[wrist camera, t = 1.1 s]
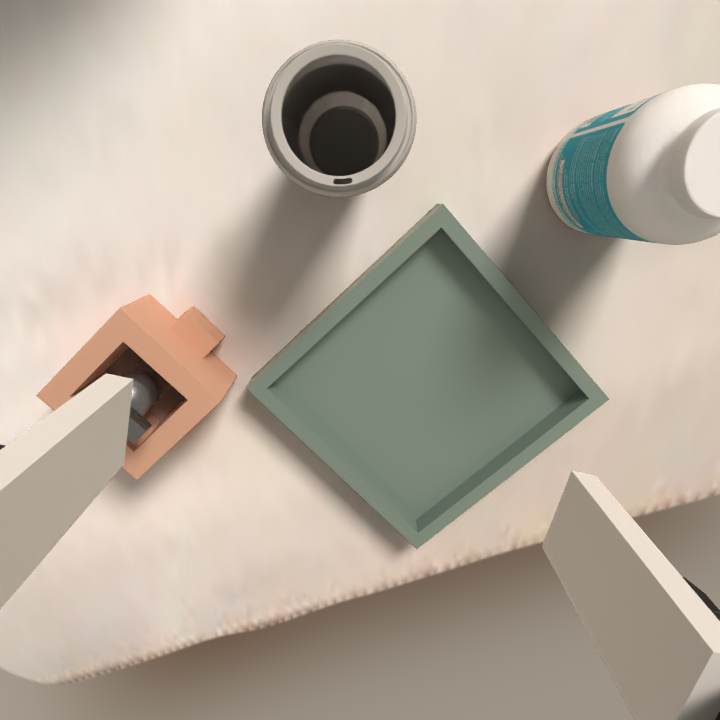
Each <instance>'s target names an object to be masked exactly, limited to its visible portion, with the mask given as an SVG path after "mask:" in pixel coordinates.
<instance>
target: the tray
mask: <svg viewBox="0 0 720 720" xmlns="http://www.w3.org/2000/svg"><path fill="white" fill-rule="evenodd" d="M246 389H247V390H248V391H249V392H250V393H251V394H252V395H253V396H254V397H256V398H257V399H258V400H259V401H260V402H261V403H262V404H263V405H264V406H265V407H266V408H267V409H268V410H269V411H270V412H272V413H273V414H274V415H275V416H276V417H277V418H278V419H279V420H280V421H281V422H282V423H283V424H284V425H285V426H286V427H287V428H289V429H290V430H291V431H292V432H293V433H294V434H295V435H296V436H297V437H298V438H299V439H300V440H301V441H302V442H303V443H304V444H306V445H307V446H308V447H309V448H310V449H311V450H312V451H313V452H314V453H315V454H316V455H317V456H318V457H319V458H320V459H321V460H323V461H324V462H325V463H326V464H327V465H328V466H329V467H330V468H331V469H332V470H333V471H334V472H335V473H336V474H337V475H338V476H340V477H341V478H342V479H343V480H344V481H345V482H346V483H347V484H348V485H349V486H350V487H351V488H352V489H353V490H354V491H356V492H357V493H358V494H359V495H360V496H361V497H362V498H363V499H364V500H365V501H366V502H367V503H368V504H369V505H370V506H371V507H373V508H374V509H375V510H376V511H377V512H378V513H379V514H380V515H381V516H382V517H383V518H384V519H385V520H386V521H387V522H388V523H390V524H391V525H392V526H393V527H394V528H395V529H396V530H397V531H398V532H399V533H400V534H401V535H402V536H403V537H404V538H405V539H407V540H408V541H409V542H410V543H411V544H412V545H413V546H414V547H415V548H416V549H418V548H419V547H420V546H421V545H423V544H424V543H425V542H427V541H428V540H429V539H430V538H432V537H433V536H434V535H435V534H437V533H438V532H439V531H441V530H442V529H443V528H444V527H446V526H447V525H448V524H450V523H451V522H452V521H453V520H455V519H456V518H457V517H459V516H460V515H461V514H462V513H464V512H465V511H466V510H468V509H469V508H470V507H471V506H473V505H474V504H475V503H477V502H478V501H479V500H480V499H482V498H483V497H484V496H486V495H487V494H488V493H489V492H491V491H492V490H493V489H495V488H496V487H497V486H498V485H500V484H501V483H502V482H504V481H505V480H506V479H507V478H509V477H510V476H511V475H513V474H514V473H515V472H516V471H518V470H519V469H520V468H522V467H523V466H524V465H525V464H527V463H528V462H529V461H531V460H532V459H533V458H534V457H536V456H537V455H538V454H540V453H541V452H542V451H543V450H545V449H546V448H547V447H549V446H550V445H551V444H552V443H554V442H555V441H556V440H558V439H559V438H560V437H561V436H563V435H564V434H565V433H567V432H568V431H569V430H570V429H572V428H573V427H574V426H576V425H577V424H578V423H579V422H581V421H582V420H583V419H585V418H586V417H587V416H588V415H590V414H591V413H592V412H594V411H595V410H596V409H597V408H599V407H600V406H601V405H603V404H604V403H605V402H606V401H608V400H609V398H608V397H607V396H606V395H605V394H604V392H603V391H602V390H601V389H600V388H599V387H598V385H597V384H596V383H595V382H594V381H593V380H592V378H591V377H590V376H589V375H588V374H587V372H586V371H585V370H584V369H583V368H582V367H581V365H580V364H579V363H578V362H577V361H576V360H575V358H574V357H573V356H572V355H571V354H570V352H569V351H568V350H567V349H566V348H565V347H564V345H563V344H562V343H561V342H560V341H559V340H558V338H557V337H556V336H555V335H554V334H553V333H552V331H551V330H550V329H549V328H548V327H547V325H546V324H545V323H544V322H543V321H542V320H541V318H540V317H539V316H538V315H537V314H536V313H535V311H534V310H533V309H532V308H531V307H530V306H529V304H528V303H527V302H526V301H525V300H524V298H523V297H522V296H521V295H520V294H519V293H518V291H517V290H516V289H515V288H514V287H513V286H512V284H511V283H510V282H509V281H508V280H507V279H506V277H505V276H504V275H503V274H502V273H501V271H500V270H499V269H498V268H497V267H496V266H495V264H494V263H493V262H492V261H491V260H490V259H489V257H488V256H487V255H486V254H485V253H484V252H483V250H482V249H481V248H480V247H479V246H478V244H477V243H476V242H475V241H474V240H473V239H472V237H471V236H470V235H469V234H468V233H467V232H466V230H465V229H464V228H463V227H462V226H461V225H460V223H459V222H458V221H457V220H456V219H455V217H454V216H453V215H452V214H451V213H450V212H449V210H448V209H447V208H446V207H445V206H444V205H443V204H437V205H435V206H434V207H433V208H432V209H431V210H430V211H429V212H428V213H427V214H426V215H425V216H424V217H423V218H422V219H421V220H419V221H418V222H417V223H416V224H415V225H414V226H413V227H412V228H411V229H410V230H409V231H408V232H407V233H406V234H405V235H403V236H402V237H401V238H400V239H399V240H398V241H397V242H396V243H395V244H394V245H393V246H392V247H391V248H390V249H389V250H387V251H386V252H385V253H384V254H383V255H382V256H381V257H380V258H379V259H378V260H377V261H376V262H375V263H374V264H372V265H371V266H370V267H369V268H368V269H367V270H366V271H365V272H364V273H363V274H362V275H361V276H360V277H359V278H358V279H356V280H355V281H354V282H353V283H352V284H351V285H350V286H349V287H348V288H347V289H346V290H345V291H344V292H343V293H342V294H340V295H339V296H338V297H337V298H336V299H335V300H334V301H333V302H332V303H331V304H330V305H329V306H328V307H327V308H326V309H324V310H323V311H322V312H321V313H320V314H319V315H318V316H317V317H316V318H315V319H314V320H313V321H312V322H311V323H310V324H308V325H307V326H306V327H305V328H304V329H303V330H302V331H301V332H300V333H299V334H298V335H297V336H296V337H295V338H294V339H292V340H291V341H290V342H289V343H288V344H287V345H286V346H285V347H284V348H283V349H282V350H281V351H280V352H279V353H278V354H276V355H275V356H274V357H273V358H272V359H271V360H270V361H269V362H268V363H267V364H266V365H265V366H264V367H263V368H262V369H260V370H259V371H258V372H257V373H256V374H255V375H254V376H253V377H252V379H251V381H250V382H249V384H248V386H247V387H246Z"/></svg>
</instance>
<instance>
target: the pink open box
mask: <svg viewBox="0 0 720 720" xmlns="http://www.w3.org/2000/svg"><path fill="white" fill-rule="evenodd" d="M224 337H225V336H224V335H223V334H222V333H221V332H220V331H219V330H218V329H217V328H216V327H215V326H214V325H213V324H212V323H211V322H210V321H209V320H208V319H207V318H206V317H205V316H204V315H202V314H201V313H200V312H199V311H198V310H197V309H196V308H195V307H192V308H191V309H189V310H188V311H186V312H185V313H184V314H183V315H182V316H181V317H180V318H179V319H178V320H177V319H176V318H175V317H174V316H173V315H172V314H171V313H170V312H169V311H167V310H166V309H165V308H164V307H163V306H162V305H161V304H160V303H159V302H158V301H157V300H156V299H155V298H154V297H153V296H152V295H150V294H149V295H147V296H145V297H143V298H140V299H138V300H136V301H134V302H132V303H130V304H128V305H125V306H123V307H121V308H119V310H118V311H117V312H116V313H115V314H114V315H113V316H112V317H111V318H110V319H109V320H108V321H107V322H106V323H105V324H104V325H103V326H102V327H101V328H100V329H99V330H98V332H97V333H96V334H95V335H94V336H93V337H92V338H91V339H90V340H89V341H88V342H87V343H86V344H85V345H84V346H83V347H82V348H81V349H80V350H79V351H78V352H77V354H76V355H75V356H74V357H73V358H72V359H71V360H70V361H69V362H68V363H67V364H66V365H65V366H64V367H63V368H62V369H61V370H60V371H59V372H58V373H57V374H56V376H55V377H54V378H53V379H52V380H51V381H50V382H49V383H48V384H47V385H46V386H45V387H44V388H43V389H42V390H41V391H40V392H39V393H38V394H37V395H36V396H37V397H38V398H40V399H41V400H42V401H43V402H44V403H46V404H47V405H48V406H49V407H50V408H52V409H53V410H54V411H55V410H56V409H58V408H59V407H60V406H62V405H63V404H65V403H66V402H67V401H69V400H70V399H71V398H73V397H74V396H76V395H77V394H78V393H80V392H81V391H82V390H84V389H85V388H87V387H88V386H89V385H91V384H92V383H94V382H95V381H96V380H98V379H99V378H100V377H102V376H103V375H105V374H106V373H105V371H106V370H107V369H108V368H109V367H110V366H111V365H112V364H113V363H114V362H115V361H116V360H117V359H118V358H119V357H120V356H121V355H122V354H123V353H124V352H125V351H126V350H127V349H128V348H129V347H130V348H131V349H132V350H133V351H134V352H135V353H136V354H138V355H139V356H140V357H141V358H142V359H143V360H144V361H145V362H146V363H147V364H149V365H150V366H151V367H152V368H153V369H154V370H155V371H156V372H157V373H159V374H160V375H161V376H162V377H163V378H164V379H165V380H166V381H167V382H169V383H170V384H171V385H172V386H173V387H174V388H175V389H176V390H177V391H178V392H180V393H181V394H182V395H183V396H184V397H185V399H183V400H182V401H181V402H180V403H179V404H178V405H177V406H176V407H175V408H174V409H173V410H172V411H171V412H170V413H169V414H168V415H167V416H166V417H165V418H164V419H163V420H162V421H161V422H160V421H159V420H158V419H157V418H156V417H155V416H153V415H152V414H151V413H150V412H149V411H147V412H146V413H145V414H144V415H143V417H144V418H145V419H146V420H147V421H149V422H150V423H151V424H152V426H151V427H150V428H149V429H148V430H147V431H146V432H145V433H144V434H143V435H142V436H141V437H140V438H139V439H138V440H137V441H136V442H135V443H134V444H133V443H132V442H131V441H130V440H129V439H127V442H126V451H125V460H124V465H123V466H122V468H123V469H124V470H126V471H127V472H128V473H129V474H130V475H131V476H133V477H134V478H135V479H136V480H137V479H139V478H140V477H141V476H142V475H143V474H144V473H145V472H146V471H147V470H148V469H149V468H150V467H151V466H152V465H153V464H154V463H156V462H157V461H158V460H159V459H160V458H161V457H162V456H163V455H164V454H165V453H166V452H167V451H168V450H169V449H170V448H171V447H173V446H174V445H175V444H176V443H177V442H178V441H179V440H180V439H181V438H182V437H183V436H184V435H185V434H186V433H187V432H189V431H190V430H191V429H192V428H193V427H194V426H195V425H196V424H197V423H198V422H199V421H200V420H201V419H202V418H203V417H204V416H206V415H207V414H208V413H209V412H210V411H211V410H212V409H213V408H214V407H215V406H216V405H217V404H218V403H219V402H220V401H221V400H222V399H223V397H224V396H225V394H226V393H227V391H228V390H229V388H230V387H231V385H232V384H233V382H234V381H235V379H236V378H237V376H236V375H235V374H234V373H233V372H232V371H231V370H230V369H229V368H228V367H227V366H226V365H225V364H224V363H223V362H222V361H220V360H219V359H218V358H217V357H216V356H215V355H214V354H213V353H212V352H211V350H212V349H213V348H214V347H215V346H216V345H217V344H218V343H219V342H220V341H221V340H222V339H223V338H224Z"/></svg>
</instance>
